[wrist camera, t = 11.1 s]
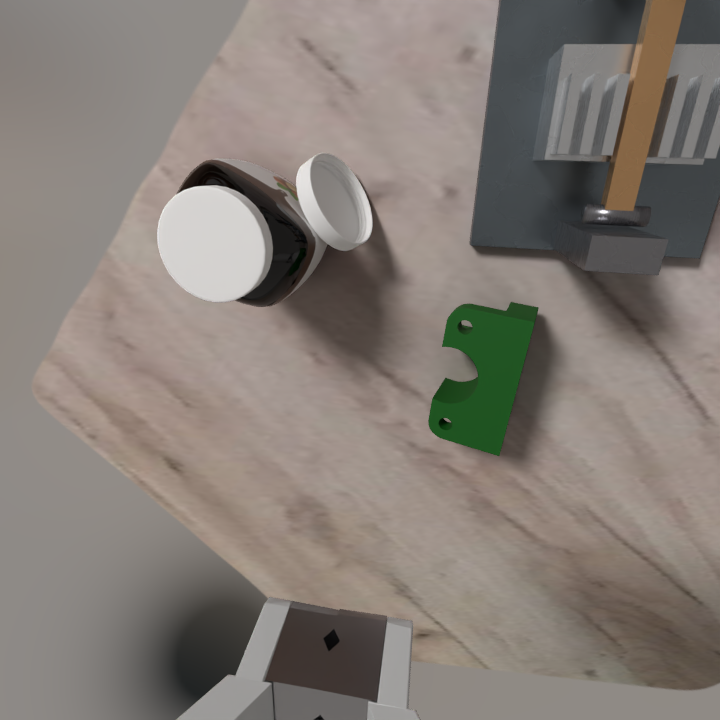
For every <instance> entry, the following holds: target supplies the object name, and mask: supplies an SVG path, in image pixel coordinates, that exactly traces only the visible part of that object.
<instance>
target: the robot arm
mask: <svg viewBox="0 0 720 720" xmlns="http://www.w3.org/2000/svg"><path fill="white" fill-rule="evenodd" d="M386 625H387V626H386ZM412 635H413V622H412V620H405V619H399V618H392V617H388V618H387V616H384V615H377V614H371V613H364V612H357V611H350V610H344V609H340V610H337V609H332V608H327V607H321V606H316V605H311V604H306V603H300V602H295V601H290V600H284V599H278V598H273V597H269V598H268V600H267V601H266V603H265V604H264V607H263V609H262V611H261V614H260V616H259V619H258V621H257V624H256V627H255V629H254V631H253V634H252V636H251V639H250V641H249V644H248V646H247V648H246V651H245V654H244V656H243V658H242V661H241V664H240V666H239V669H238V671H237V674H236V676H234V675H227V676H226V677H225V678H224V679H223V680H222V681H220V682H219V683H218V684H217V685H216V686H215V687H214V688H212V689H211V690H210V691H209V692H208V693H207V694H205V695H204V696H203V697H202V698H201V699H200V700H199V701H197V702H196V703H195V704H194V705H193V706H192V707H190V708H189V709H188V710H187V711H186V712H185V713H184V714H182V715H181V716H180V717H179V718H178V719H177V720H420V718H419V715H418V714H417V711H416V710H411V709H408V705H409V687H410V670H411V669H410V668H411V652H412Z"/></svg>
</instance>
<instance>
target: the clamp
mask: <svg viewBox="0 0 720 720" xmlns="http://www.w3.org/2000/svg"><path fill="white" fill-rule="evenodd" d="M537 312H538V307H533V306H528V305H523V304H518V303H513V302H511V303H510V305H509V307H508V309H507V311H503V310H498V309H493V308H489V307H484V306H479V305H474V304H463V305H461V306H459V307H457V308H456V309H455V310H454V311H453V312H452V313H451V315H450V316H449V318H448V320H447V324H446V329H445V334H444V340H443V345H442V347H453V348H456V349H459V350H461V351H462V352H464V353H465V354H467V355H468V356H469V357H470V358H471V359H472V361H473V362H474V364H475V366H476V368H477V371H478V377H477V378H476V379H474V380H471V381H467V382H457V381H453V380H450V379H447V378H445V380H444V381H443V383H442V384H441V386H440V387H439V389H438V391H437V392H436V394H435V395H434V397H433V399H432V404H431V410H430V415H429V427H430V429H431V431H432V432H433V433H434V434H435V435H436V436H438V437H440V438H442V439H445V440H449V441H452V442H455V443H458V444H462V445H465V446H468V447H471V448H475V449H478V450H481V451H484V452H488V453H491V454H494V455H497V456H499V455H500V451H501V447H502V444H503V440H504V436H505V432H506V429H507V425H508V421H509V417H510V414H511V410H512V406H513V402H514V399H515V395H516V391H517V387H518V384H519V380H520V376H521V372H522V369H523V365H524V361H525V357H526V354H527V350H528V346H529V342H530V339H531V335H532V331H533V327H534V324H535V320H536V316H537ZM462 320H467V321H469V322H471V324H472V326H473V327H468V326H464V325H462V324H461V321H462ZM443 418H448V419H449V420H450V421H451V423H449V422H446V421H445V420H444V419H443Z"/></svg>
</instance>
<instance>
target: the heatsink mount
mask: <svg viewBox="0 0 720 720" xmlns="http://www.w3.org/2000/svg"><path fill="white" fill-rule="evenodd" d="M645 3H646V0H499V8H498V16H497V24H496V32H495V40H494V48H493V57H492V65H491V73H490V81H489V89H488V97H487V105H486V113H485V122H484V130H483V138H482V146H481V154H480V162H479V170H478V178H477V187H476V195H475V203H474V211H473V219H472V227H471V235H470V245H473V246H491V247H509V248H526V249H544V250H556V251H557V252H559V253H560V254H562V255H563V256H564V257H566V258H567V259H569V260H570V261H571V262H573V263H574V264H576V265H577V266H579V267H580V268H581V269H583V270H584V271H598V272H614V273H630V274H646V275H659V271H660V268H661V264H662V261H663V257H664V256H667V257H684V258H700V256H701V252H702V249H703V246H704V243H705V240H706V237H707V234H708V230H709V227H710V224H711V221H712V218H713V215H714V212H715V208H716V205H717V202H718V199H719V196H720V0H686V3H685V7H684V11H683V15H682V19H681V23H680V27H679V31H678V35H677V39H676V43H675V47H674V51H673V55H672V59H671V63H670V67H669V71H668V75H667V79H666V83H665V87H664V91H663V95H662V99H661V103H660V107H659V111H658V115H657V119H656V123H655V126H654V130H653V134H652V138H651V142H650V146H649V150H648V154H647V158H646V162H645V166H644V170H643V174H642V178H641V182H640V186H639V190H638V194H637V198H636V202H635V206H649V207H650V208H651V217H650V221H649V223H648V224H647V226H646V227H633V226H613V225H593V224H581V221H580V218H581V212H582V208H583V206H584V205H585V204H601V200H602V196H603V191H604V187H605V182H606V178H607V173H608V169H609V164H610V160H611V155H613V150H614V146H615V141H616V137H617V133H618V128H619V124H620V119H621V115H622V110H623V106H624V102H625V97H626V93H627V88H628V84H629V79H630V75H631V74H630V70H631V66H632V61H633V57H634V53H635V48H636V44H637V39H638V35H639V30H640V26H641V21H642V17H643V12H644V8H645Z"/></svg>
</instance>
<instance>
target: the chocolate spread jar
mask: <svg viewBox="0 0 720 720" xmlns="http://www.w3.org/2000/svg"><path fill="white" fill-rule="evenodd" d="M372 228H373V218H372V212H371V208H370V204H369V201H368V198H367V196H366V193H365V191H364V189H363V187H362V185H361V184H360V182H359V180H358V179H357V177H356V176H355V174H354V173H353V172H352V170H351V169H350V168H349V167H348V166H347V165H346V164H345V163H344V162H343V161H342V160H340V159H339V158H338V157H336V156H334V155H332V154H329V153H323V152H322V153H319V154H317V155H315V156H314V157H312V158H311V159H310V160H308V161H307V162H305V163H304V164H303V165H302V166H301V167H300V168H299V170H298V173H297V177H296V186H295V185H294V184H292V183H291V182H289V181H288V180H286V179H285V178H283V177H281V176H280V175H278V174H276V173H274V172H272V171H270V170H268V169H266V168H264V167H261V166H259V165H256V164H254V163H251V162H248V161H243V160H237V159H211V160H207V161H205V162H203V163H201V164H200V165H199V166H197V167H196V168H195V169H194V170H193V171H192V172H191V173H190V174H189V175H188V177H187V178H186V179H185V180H184V182H183V183H182V185H181V186H180V188H179V190H178V192H177V194H176V195H175V196H174V197H173V198H172V199H171V200H170V201H169V202H168V203H167V205H166V207H165V208H164V210H163V211H162V214H161V217H160V219H159V224H158V230H157V239H158V247H159V252H160V255H161V258H162V260H163V263H164V265H165V267H166V269H167V270H168V272H169V274H170V275H171V276H172V278H173V279H174V280H175V281H176V282H177V284H179V285H180V286H181V287H182V288H183V289H184V290H185V291H187V292H188V293H190V294H192V295H193V296H195V297H197V298H200V299H203V300H205V301H210V302H229V301H234V300H235V301H237V302H240V303H243V304H247V305H251V306H256V307H266V306H272V305H275V304H277V303H280V302H281V301H283V300H284V299H286V298H287V297H289V296H290V295H291V294H292V293H293V292H295V291H296V290H297V289H298V288H299V287H300V286H301V285H302V284H303V283H304V282H305V281H306V280H307V279H308V278H309V277H310V275H311V274H312V273H313V271H314V270H315V268H316V267H317V265H318V264H319V262H320V260H321V258H322V256H323V254H324V252H325V250H326V247H327V244H328V245H330V246H331V247H333V248H335V249H338V250H341V251H348V250H351V249H353V248H355V247H357V246H359V245H361V244H363V243H365V242H366V241H368V239H369V238H370V236H371V233H372Z"/></svg>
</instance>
